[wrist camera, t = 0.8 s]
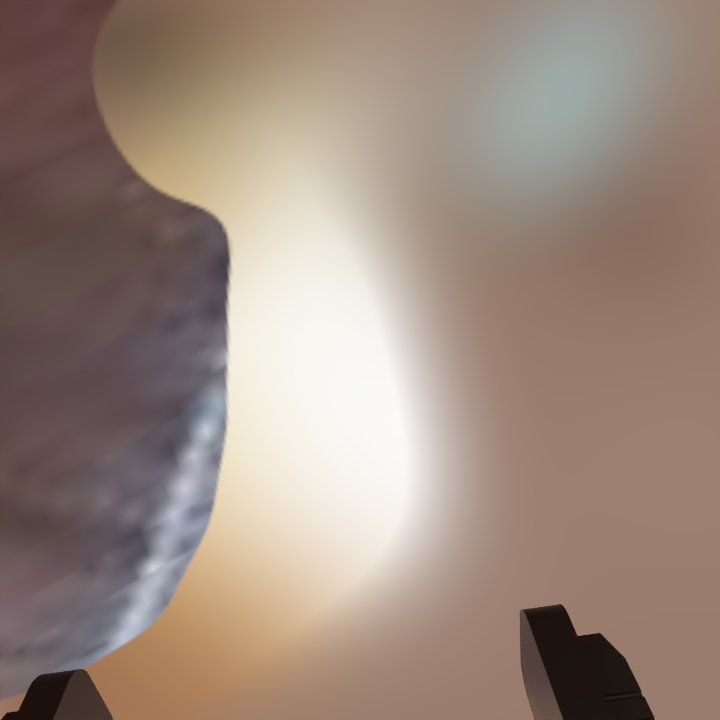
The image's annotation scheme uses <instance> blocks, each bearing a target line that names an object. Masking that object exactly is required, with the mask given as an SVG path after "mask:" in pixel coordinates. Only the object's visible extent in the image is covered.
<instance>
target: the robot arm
mask: <svg viewBox="0 0 720 720" xmlns="http://www.w3.org/2000/svg"><path fill="white" fill-rule="evenodd" d="M520 646H521V647H520V650H521V651H520V653H521V669H522V675H523V680H524V685H525V689H526V693H527V697H528V700H529V704H530V706H531V710H532V713H533V716H534V720H654V716H653V714H652V712H651V710H650V708H649V705H648V703H647V701H646V699H645V697H643V696H642V693H641V690H640V687H639V685H638V683H637V681H636V679H635V677H634V675H633V673H632V671H631V669H630V667H629V665H628V663H627V661H626V659H625V658H624V657H623V656H622V655H621V654H620V653H619V652H618V651H617V650H616V649H615V648H614V647H613V646H612V645H611V644H610V643H609V642H608V641H607V640H606V639H605V638H604V637H603V636H602V635H601V634H600V633H597V634H590V635H582V636H577V634H576V632H575V629H574V627H573V625H572V622H571V620H570V618H569V615H568V613H567V611H566V609H565V608H564V606H563V605H561V604H559V605H552V606H545V607H538V608H531V609H523V610H521V611H520ZM1 720H113V718H112V716H111V714H110V712H109V710H108V708H107V706H106V705H105V703H104V701H103V699H102V697H101V696H100V694H99V692H98V690H97V689H96V687H95V685H94V683H93V681H92V680H91V678H90V676H89V674H88V673H87V672H86V671H85V670H83V669H79V670H71V671H64V672H57V673H50V674H43V675H40V676H38V677H37V678H36V679H35V680H34V681H33V682H32V684H31V685H30V687H29V689H28V691H27V694H26V696H25V698H24V700H23V702H22V704H21V706H20V709H19V711H17V712H9V713H6V715H5V716H4V717H3V718H2V719H1Z"/></svg>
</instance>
